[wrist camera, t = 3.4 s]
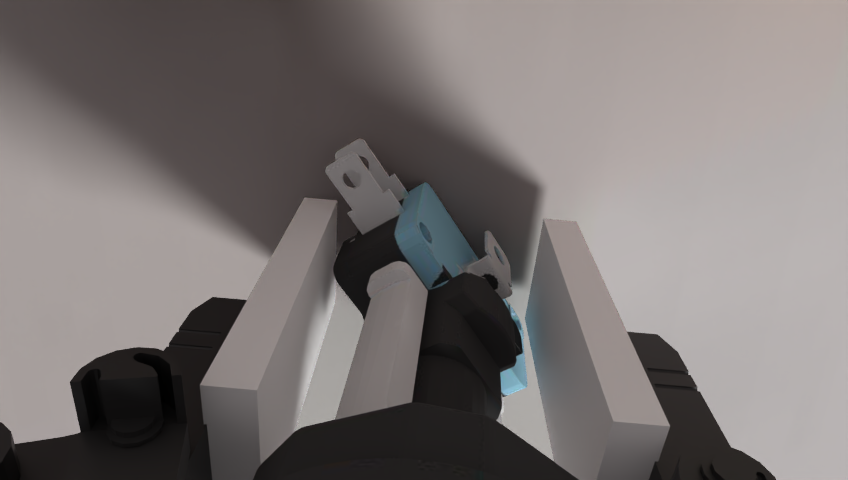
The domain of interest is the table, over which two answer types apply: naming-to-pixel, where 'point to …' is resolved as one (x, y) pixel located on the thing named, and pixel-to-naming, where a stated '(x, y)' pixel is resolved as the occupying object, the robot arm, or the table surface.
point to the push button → (418, 348)
